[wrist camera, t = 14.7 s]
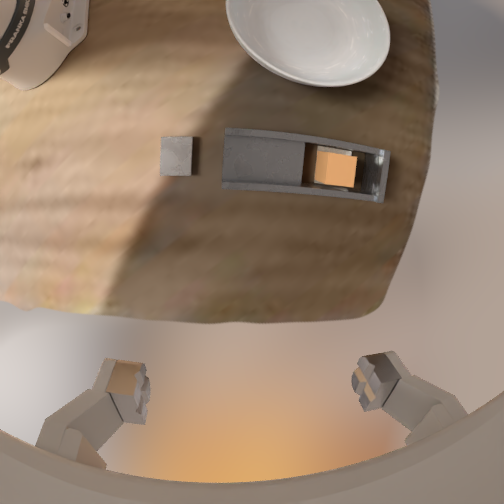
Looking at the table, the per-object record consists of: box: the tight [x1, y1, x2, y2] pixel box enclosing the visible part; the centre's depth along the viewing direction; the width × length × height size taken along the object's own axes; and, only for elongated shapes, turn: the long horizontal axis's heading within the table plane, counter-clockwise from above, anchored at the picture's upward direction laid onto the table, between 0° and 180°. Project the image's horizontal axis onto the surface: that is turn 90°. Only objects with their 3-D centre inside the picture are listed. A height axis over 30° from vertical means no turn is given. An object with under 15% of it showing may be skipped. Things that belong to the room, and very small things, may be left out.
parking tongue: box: [160, 137, 193, 176], centre depth 32 cm, size 5×4×1 cm
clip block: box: [315, 151, 357, 187], centre depth 33 cm, size 4×4×4 cm
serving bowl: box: [226, 0, 390, 87], centre depth 24 cm, size 21×21×7 cm
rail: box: [222, 128, 391, 203], centre depth 33 cm, size 7×21×5 cm, turn 86°
